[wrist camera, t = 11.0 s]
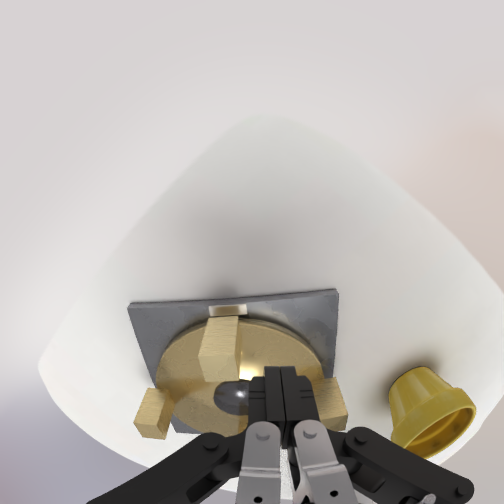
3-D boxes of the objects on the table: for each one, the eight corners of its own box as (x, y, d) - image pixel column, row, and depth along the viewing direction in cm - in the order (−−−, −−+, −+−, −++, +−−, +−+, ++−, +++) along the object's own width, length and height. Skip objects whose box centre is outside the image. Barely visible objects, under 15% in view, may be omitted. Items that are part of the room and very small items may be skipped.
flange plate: (324, 420, 30) (326, 428, 29) (177, 426, 30) (175, 434, 29) (335, 288, 24) (339, 295, 23) (130, 303, 25) (125, 309, 24)
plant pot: (364, 384, 28) (390, 448, 19) (437, 339, 26) (479, 390, 17) (383, 421, 31) (404, 472, 21) (444, 383, 29) (474, 428, 19)
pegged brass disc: (335, 295, 23) (359, 338, 17) (326, 426, 28) (335, 467, 22) (126, 313, 24) (96, 354, 17) (178, 434, 29) (169, 473, 23)
